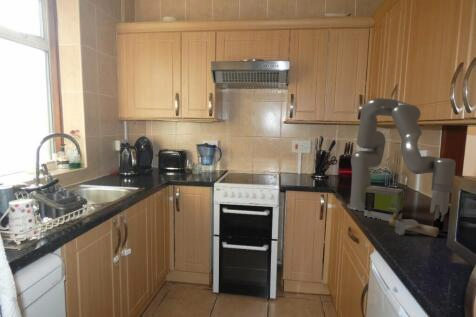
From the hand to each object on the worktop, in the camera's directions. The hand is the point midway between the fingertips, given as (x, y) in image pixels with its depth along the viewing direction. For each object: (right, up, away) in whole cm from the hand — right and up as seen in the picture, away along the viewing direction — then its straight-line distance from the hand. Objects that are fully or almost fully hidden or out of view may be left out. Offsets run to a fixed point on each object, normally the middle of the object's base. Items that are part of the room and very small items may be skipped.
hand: (438, 229), depth 124 cm
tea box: (-15, +1, +19) cm, 24 cm away
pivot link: (-10, -1, +2) cm, 10 cm away
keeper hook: (-15, -1, -2) cm, 16 cm away
